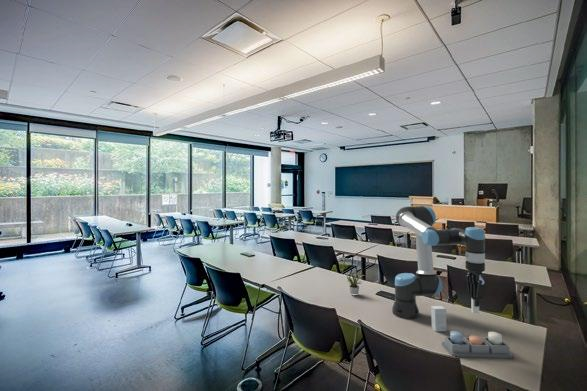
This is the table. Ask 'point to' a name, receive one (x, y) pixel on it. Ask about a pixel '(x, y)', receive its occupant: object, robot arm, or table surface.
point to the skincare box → (438, 318)
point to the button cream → (495, 338)
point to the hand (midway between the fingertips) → (475, 312)
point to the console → (477, 349)
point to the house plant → (354, 287)
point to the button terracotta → (475, 340)
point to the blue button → (456, 337)
